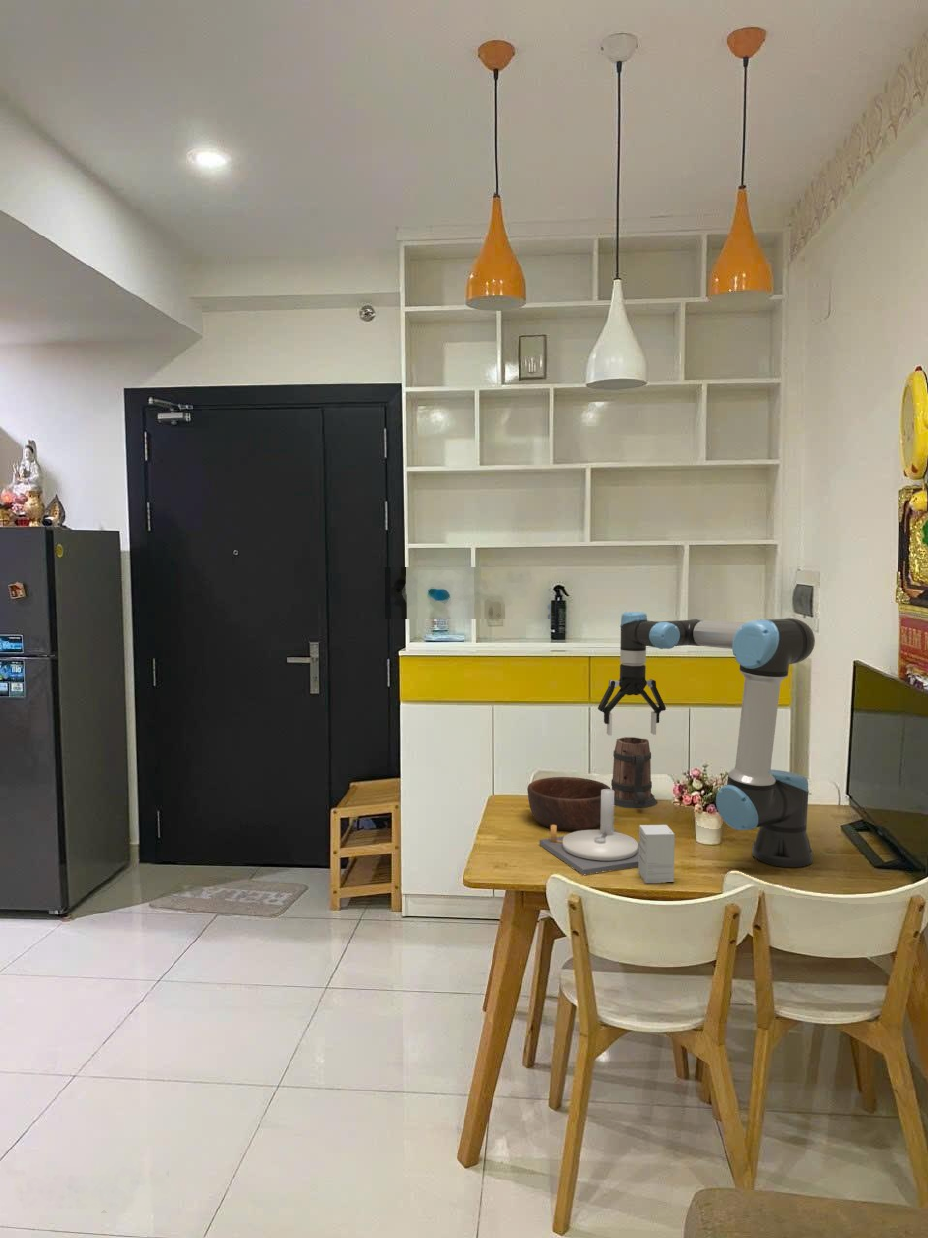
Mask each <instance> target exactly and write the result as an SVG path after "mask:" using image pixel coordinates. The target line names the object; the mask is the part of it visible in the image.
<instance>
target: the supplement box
mask: <svg viewBox="0 0 928 1238" xmlns="http://www.w3.org/2000/svg"><path fill="white" fill-rule="evenodd" d="M675 842H676V834H675V833H674V832H673V830H672V829H671V828H670V827H669V826H668V824H639V826H638V843H639V861H638V867H637V868H638V869H637V872H638V874H639V876H640V877H641V880H642V881H643V882H644V884H662V883H661V882H674V881H675V878H674V877H675V876H674V875H675V847H676V846H675V844H676V843H675Z"/></svg>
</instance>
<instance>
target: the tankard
mask: <svg viewBox="0 0 928 1238" xmlns="http://www.w3.org/2000/svg"><path fill="white" fill-rule="evenodd" d="M651 759H652V753H651V748H650V741H649V740H648V739H647V738H639V737H635V736H634V737H632V736H630V737H628V736H627V737H625V736H624V737H621V738H617V739H616V741H615V746H614V750H613V766H612V767H613V769H612V778H611V783H610V784H611V785H610V786H611V790H614V805H615V806H614V807H618V806H619V808H625V809H647V808H652V807H655V806H656V805H658V800H657V799H656V798H655V795H654V794H653V793H652V788H653V787H652V785H653V782H652V778H651V777H652V776H651V775H652V774H651V765H652V764H651Z"/></svg>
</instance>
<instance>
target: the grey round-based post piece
mask: <svg viewBox="0 0 928 1238" xmlns="http://www.w3.org/2000/svg"><path fill="white" fill-rule="evenodd" d="M614 814H615V806H614V790H612V788H610V789H603V790H601V818H600V825H599V828H600V829H588V830H580V831H571V832H570V833H567V834H565V835H564V838H563V848H564V850H565V851H567V852H568V853H570V854H572V855H575V856H577V857H581V858H585V859H591V860H601V861H612V860H622V859H626V858H629V857H632V856H634V855H635V854H636V853H637V852H638V843H639V841H637V840H636V838H634V837H632V836H630V835H628V834H625V833H621V832H620V833H618V832H619V831H618V832H614V831H613V830H614V827H615V826H614V824H615V823H614V822H615V821H614V820H615V819H614V817H615V815H614Z"/></svg>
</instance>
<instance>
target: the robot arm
mask: <svg viewBox="0 0 928 1238" xmlns="http://www.w3.org/2000/svg"><path fill="white" fill-rule="evenodd" d="M620 617H621V618H620V625H619V627H620V652H619V653H620V654H619V655H620V657H619V662H620V663H621V664H620V666H619V680H613V679H609V680H608V686H607V689H606V691H605V693H604V695H603V697H602V699H601V701H600V703H599V705H598V706H597V710H598V711H600V712H603V722H604V724H605V725H606V734H607V736H610V737H611V736H612V735H613V713H611V712H612V710H613V709H614V708H615V707H616V706H617V704H618V703H619V702H620V701H621V700H622V698H624V697H625V695H626V696H639V695H641V696H642V698H643V699H644V700H645V701H646V702H647V704H648V705H649V706H650V707H651V709H652V710H653V711H650V733H651V734H652V735H654V736H656V735H657V724H659V723H660V714H661V712H663V711H666V710H667V707H666V705H665V703H664V701H663V699H662V697H661V694H660V692H659V690H658V688H657V682H656V680H654V679H653V678H650V679H649V680H647V679H646V669H647V668H646V667H647V666H646V663H647V647H651V648H655V649H660V650H663V649H665V650H666V649H667V650H671V649H673V648H675V647H682V646H683V647H684V646H685V647H686V646H694V647H706V648H707V647H708V648H719V649H730V650H732V654H733V656H734V659H735V661H736V663H737V664H739V673H741V674H742V676H743V677H744V681H743V682H744V683H743V693H742V701H741V702H742V703H741V712H740V719H739V727H738V729H739V730H738V738H737V739H738V740H737V748H736V755H735V756H736V757H735V766H734V768H732V769H731V770H729V771H728V774H727V783H726V785H723V786H722V787H721V788H720V789H718V791H717V793H716V797H715V805H716V809H717V812H718V815H719V816H720V817H721V819H722V821H723V822H724V823H725V824H726V825H727V826H729V828H732V829H734V830H736V831H746V830H747V831H749V830H750V831H751V830H754V829H755V828H756V829H757V828H759V829H758V831H757V835H756V837H755V838H756V839H755V841H754V842H753V844H752V846H751V847H752V850H751V851H752V853H751V854H752V857H753V856H754V857H755V860H757V859H758V860H757V861H759V860H760V862H761V861H762V862H761V863H765V864H767V865H770V864H771V866H775V867H781V868H803V867H807V866H809V864H810V865H811V864H812V863H813V856H814V855H813V854H814V853H813V850H812V848H811V844H810V839H809V836H808V831H807V828H808V827H807V825H808V805H809V804H808V803H809V794H810V791H809V781H808V779H807V778H806V777H805V776H804V775H802V774H800V773H795V772H791V771H786V770H779V769H772V768H771V767H772V759H773V751H774V742H775V735H776V733H775V732H776V725H777V716H778V709H779V708H778V707H779V701H780V700H779V699H780V690H781V683H782V681H784V680H785V679H786V678H788V677H789V670H790V665H795V664H797V663H800V662H801V663H802V662H804V661H805V660H806V659H807V658H809V656H810V655H811V654H812V653H813V651H814V649H815V646H816V645H815V644H816V638H815V633H814V632H813V629H812V628H811V627H810V626H809V624H807V622H805V621H803V620H800V619H797V618H790V617H787V618H786V617H785V618H773V619H769V618H768V619H756V620H752V621H748V622H739V621H725V620H724V621H723V620H703V619H699V618H698V619H697V618H693V619H692V618H691V619H682V620H661V621H656V620H648V618H647V617H648V615H647V613H646V612H643V611H642V612H641V611H626V612H623V613H622V614H621V616H620ZM618 686H619V688H620V689H619V690H618V691H617V693H616V694H615V695H614V696H613V698H611V697H612V695H613V693H614V691H615V688H617V687H618ZM646 686H647V687H649V688H650V691H651V693H652V695H653V697H654V699H655V701H656V703H655V702H654V700H653V699H652V698H651V697H650V696H649V694H648V693H647V692H646V691H645V688H646ZM610 699H611V700H610ZM608 702H609V703H608ZM754 857H753V858H754ZM806 865H807V866H806ZM802 866H803V867H802Z"/></svg>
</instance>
